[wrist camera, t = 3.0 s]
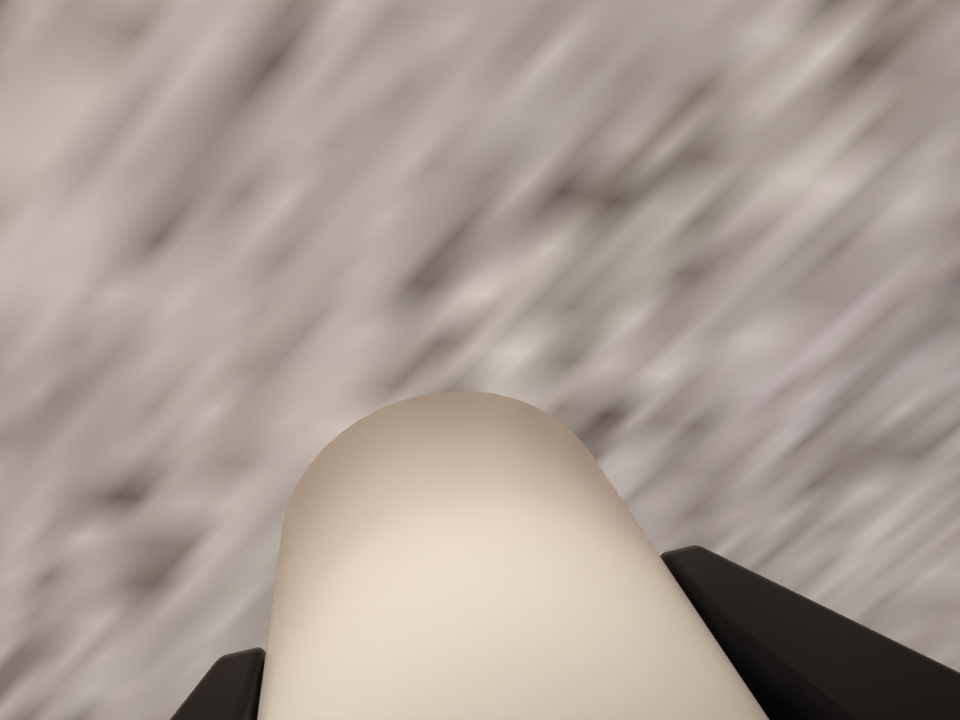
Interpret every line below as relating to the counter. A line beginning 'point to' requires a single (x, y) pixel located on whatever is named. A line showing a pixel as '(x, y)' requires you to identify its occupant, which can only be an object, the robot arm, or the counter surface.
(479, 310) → the counter surface
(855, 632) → the robot arm
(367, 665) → the cream cylinder
